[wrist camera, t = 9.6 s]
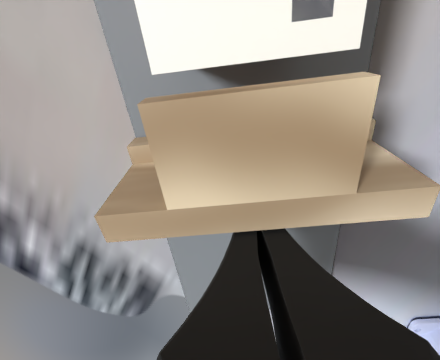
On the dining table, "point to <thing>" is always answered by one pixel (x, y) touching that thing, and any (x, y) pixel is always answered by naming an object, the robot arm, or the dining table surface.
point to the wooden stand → (262, 163)
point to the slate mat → (211, 80)
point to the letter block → (244, 30)
